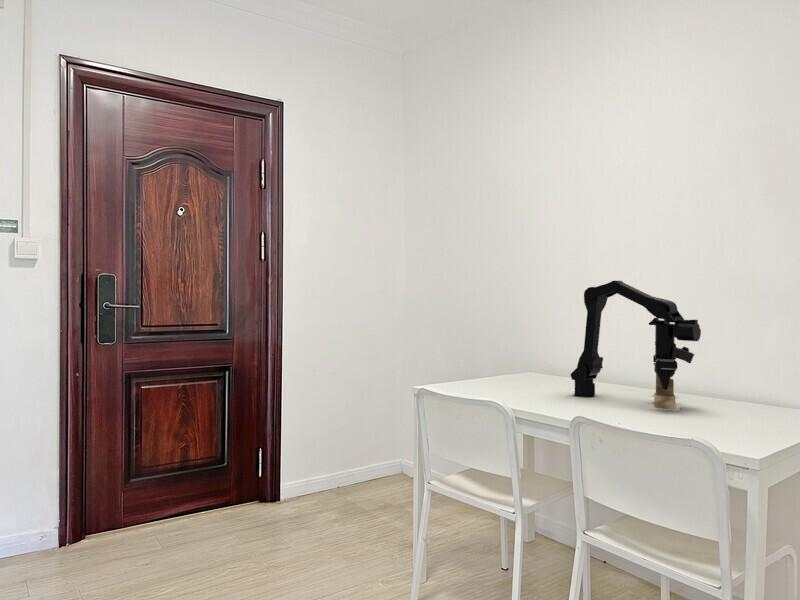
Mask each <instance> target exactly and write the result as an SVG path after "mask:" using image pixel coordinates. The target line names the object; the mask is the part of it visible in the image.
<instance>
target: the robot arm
mask: <svg viewBox="0 0 800 600" xmlns="http://www.w3.org/2000/svg"><path fill="white" fill-rule="evenodd" d="M617 294H618V295H620V296H621V297H624V298H626V299H628V300H630V301H631V302H634V303H635V304H638V305H640V306H642V307H643V308H645V309H646V311H647V312H648V313H650V314H651V315H652V316H654V317H653V319H652V320H650V321H649V322H648V325H649V326H655V332H654V333H655V334H654V335H655V338H654V340H655V341H654V347H655V349H654V350H655V352H654V354H653V355H652V356H653V357H652V358H653V359H652V361H653V365H654V368H656V371H657V373H658V376H659V379H660V381H661V384H662V386H663V389H664V390H667V389H668V385H669V381H670V379H671V378H672V377H671V374H672V373H673V372H674V371H675V372H676V371H677V369H678V361H676V360H677V359H678V360H681V361H684V362H686V363H688V364H691V363H692V361H693V359H694V357H695V353H693V352H691V351H690V349H689V348H688V347H686V346H682V347H681V348H680V347H677V344H676V343H675V338H676V340H677V341H683V342H685V341H686V342H699V341H700V338H701V335H702V330H701V328H700V324H699V320H698V319H684V317H683V315H681V313H680V311H679V310H678V306H677V304H676V302H674V301H672V300H669V299H666V298H665V299H664V298H660V297H656V296H653V295H650V294H648V293H645V292H643V291H641V290H640V289H637V288H636V287H634V286H631V285H629V284H627V283H625V282H623V281H622V280H611V281H610V282H608V283H604V284H601V285H598V286H589V287H587V288H586V289H585V290H584V291H583V301H584V305H585V309H586V312H587V313H586V323H585V332H584V344H583V351H582V352H581V355H580V356H579V359H578V361H577V362H578V363H577V366H576V368H575V369H574V370H573V371H572V372H571V373H570V377H571V380H573V381H574V395H573V397H575V398H576V397H577V398H594V397H595V395H596V383H594V380H595V379H597V378H598V377H597V376H598V374H599V373H601V370H602V369H603V368H604V367H603V361H604V357H603V356H600V355H599V351H598V350H599V342H600V332H601V331H600V330H601V320H602V313H603V311H604V309H605V308H606V305H607V301H608V299H609V298H611V297H613V296H615V295H617Z"/></svg>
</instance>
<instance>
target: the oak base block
mask: <svg viewBox="0 0 800 600" xmlns="http://www.w3.org/2000/svg"><path fill="white" fill-rule="evenodd" d="M653 397H654V398H653V404H654V406H655V408H662V409H675V405H676V395H675V394H674V396H657V395H656V392H654V393H653ZM662 409H661V410H662Z"/></svg>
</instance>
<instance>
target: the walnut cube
mask: <svg viewBox="0 0 800 600" xmlns="http://www.w3.org/2000/svg"><path fill="white" fill-rule="evenodd" d="M674 383H675V382H674V379H673V378H670V381H669V385H668V389H667V390H664V389H663V386H662V384H661V381H660V379H659V378H656V377H655V393H656V395H657V396H674V395H675V393H674V387H675V386H674Z"/></svg>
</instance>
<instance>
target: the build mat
mask: <svg viewBox="0 0 800 600" xmlns="http://www.w3.org/2000/svg"><path fill="white" fill-rule="evenodd" d="M648 405H649V409H650V410H662V411H663V410H665V411H678V412H679V411H682V410H681V407H680V405H678V404H675V409H662V408H655V406H654V403H649V404H648Z"/></svg>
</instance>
